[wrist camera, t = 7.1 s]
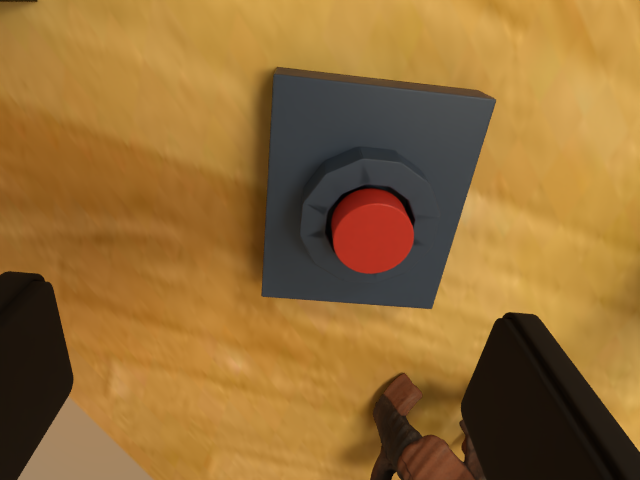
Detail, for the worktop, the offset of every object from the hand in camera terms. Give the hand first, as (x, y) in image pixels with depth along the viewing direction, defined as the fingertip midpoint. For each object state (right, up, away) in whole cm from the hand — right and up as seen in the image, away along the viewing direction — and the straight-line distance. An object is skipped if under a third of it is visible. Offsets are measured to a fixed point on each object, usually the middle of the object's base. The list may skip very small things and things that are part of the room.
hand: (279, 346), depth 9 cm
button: (+3, +3, +11) cm, 12 cm away
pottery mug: (+9, -11, +24) cm, 28 cm away
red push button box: (+3, +5, +14) cm, 15 cm away
